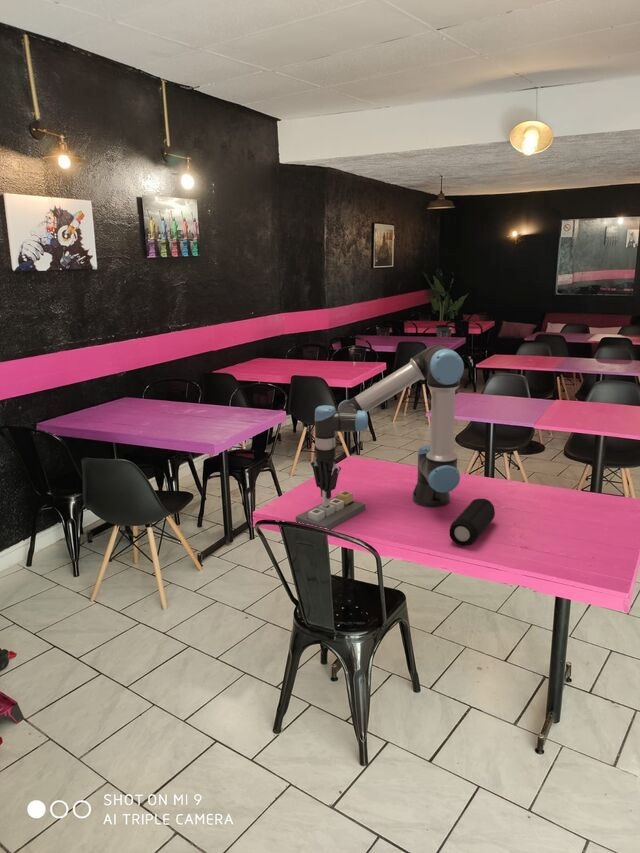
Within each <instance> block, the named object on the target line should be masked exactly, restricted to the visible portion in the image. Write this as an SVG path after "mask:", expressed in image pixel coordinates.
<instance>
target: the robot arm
mask: <svg viewBox="0 0 640 853" xmlns="http://www.w3.org/2000/svg"><path fill="white" fill-rule="evenodd" d="M464 370H465V364H464V361H463V358H462V357H461V356H460V355H459V353H457V351H455V350H453V349H451V348H448V347H447V346H445V345H442V344H436V345H435V344H434V345H431V346H429V347H427V348H426V349H424V350H421V352H419V353H417V354H415V355H414V356H413V357H411V358H410V359H409V362H408V363H406V364H405V365H403V366H401V367H400V368H398V369H397V370H395V371H394V372H392V373H391V374H389V375H387V376H386V377H384V378H382V379H381V380H379V381H378V382H377V383H375V384H373V385H372V386H370V387H369V388H367V389H365V390H364V391H362V392H360V393H359V394H357V395H356V396H354V397H352V398H351V399H344V400H343V401H341V402H340V403H339V404H338V406H337V410H336V407H335V406H333V405H327V404H325V405H319V406H317V407H316V408H315V410H314V435H315V436H314V437H315V438H314V443H315V444H314V446H315V448H314V449H315V460H314V461H311V462H310V465H311V467H312V471H313V475H314V476H313V477H314V480H315V485H316V487H317V488H319V489H320V497H321V500H322V502H321V504H322V506H323V507H327V506H329V505H330V499H332V491H333V490H335V489H336V488H337V483H338V477H339V473H340V471H341V470H342V468H341V466H338V465H337V464H336V463H337V462H336V461H335V459H336V455H337V454H336V433H339V432H340V433H342V432H343V433H344V432H363V431H364V432H365V431H367V430H368V427H369V417H368V413H367V412H369V411H372V409H374V408H376V407H377V406H379V405H381V404H382V403H384V402H386V401H387V400H389V399H390V398H392V397H393V396H395V395H397V394H398V393H400V392H402V391H404V390H405V389H407V388H408V387H410V386H411V385H413V384H414V383H416V382H418V381H420V380H421V381H424V380H426V379H427V387H428V388H429V389H430V390H431V394H430V395H431V396H430V397H431V405H430V408H431V409H430V444H428V445H422V446H420V447H418V452H417V481H416V484H415V487H414V490H413V491H412V501H413V502H414V503H415V504H417V505H419V506H423V507H428V508H430V507H431V508H438V507H439V508H441V507H444V506H447V505H448V504H449V503H450V501H451V494H450V492H451V491H453V490H455V489H456V488H457V487H458V485H459V484H460V482H461V475H460V471H459V470H458V455H457V453H456V452H455V451H454V447H455V446H454V445H455V444H454V440H455V415H456V414H455V411H456V390H457V389H458V388H460V385H461V384H460V383H461V378H462V376H463V375H464Z"/></svg>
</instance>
